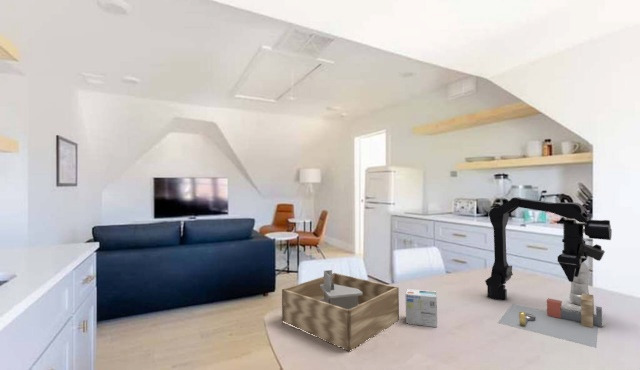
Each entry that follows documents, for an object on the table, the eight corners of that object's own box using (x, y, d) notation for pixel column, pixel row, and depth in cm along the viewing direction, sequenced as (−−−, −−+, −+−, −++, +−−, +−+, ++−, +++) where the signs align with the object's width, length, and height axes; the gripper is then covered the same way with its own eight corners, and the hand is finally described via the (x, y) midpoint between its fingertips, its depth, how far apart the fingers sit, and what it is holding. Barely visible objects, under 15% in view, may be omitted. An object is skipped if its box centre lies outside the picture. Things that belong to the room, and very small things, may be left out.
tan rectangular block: (581, 325, 107) (580, 299, 107) (582, 318, 113) (582, 293, 113) (593, 328, 105) (592, 301, 105) (593, 320, 111) (593, 295, 111)
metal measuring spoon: (513, 324, 108) (513, 311, 109) (520, 314, 117) (520, 302, 117) (530, 328, 105) (530, 315, 105) (536, 318, 113) (536, 305, 114)
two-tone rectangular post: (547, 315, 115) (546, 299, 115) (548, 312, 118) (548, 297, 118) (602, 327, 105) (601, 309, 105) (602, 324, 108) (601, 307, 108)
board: (497, 325, 110) (497, 322, 110) (513, 305, 128) (513, 303, 128) (596, 350, 92) (596, 347, 92) (598, 323, 110) (598, 321, 110)
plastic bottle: (594, 308, 123) (593, 258, 124) (575, 307, 125) (574, 257, 125) (584, 303, 130) (583, 254, 130) (565, 302, 131) (564, 254, 131)
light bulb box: (437, 320, 115) (436, 290, 115) (437, 328, 108) (437, 296, 108) (406, 316, 118) (406, 287, 118) (405, 324, 112) (405, 293, 112)
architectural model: (317, 342, 100) (317, 285, 100) (303, 313, 123) (303, 267, 123) (384, 334, 105) (383, 280, 105) (358, 307, 128) (358, 263, 129)
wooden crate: (282, 322, 114) (281, 289, 114) (334, 300, 135) (334, 272, 136) (349, 351, 93) (349, 311, 93) (398, 320, 115) (398, 287, 115)
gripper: (598, 242, 103) (598, 290, 103) (605, 236, 116) (606, 278, 116) (557, 238, 112) (557, 282, 112) (568, 233, 124) (568, 272, 124)
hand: (573, 279), depth 116 cm, fingers open, 9 cm apart
